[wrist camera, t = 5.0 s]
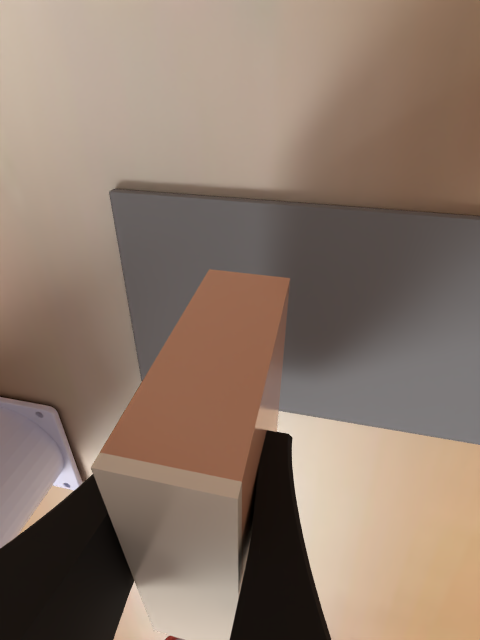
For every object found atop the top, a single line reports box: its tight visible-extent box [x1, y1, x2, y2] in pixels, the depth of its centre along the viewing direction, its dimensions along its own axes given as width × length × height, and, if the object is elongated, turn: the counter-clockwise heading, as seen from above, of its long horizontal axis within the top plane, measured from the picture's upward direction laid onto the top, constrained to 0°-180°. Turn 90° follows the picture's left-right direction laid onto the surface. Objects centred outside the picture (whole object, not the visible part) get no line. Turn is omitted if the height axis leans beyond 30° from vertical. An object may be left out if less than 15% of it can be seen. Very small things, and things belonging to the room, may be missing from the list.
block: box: [91, 269, 290, 640], centre depth 11 cm, size 2×8×7 cm, turn 0°
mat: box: [109, 189, 480, 445], centre depth 16 cm, size 18×10×1 cm, turn 90°
